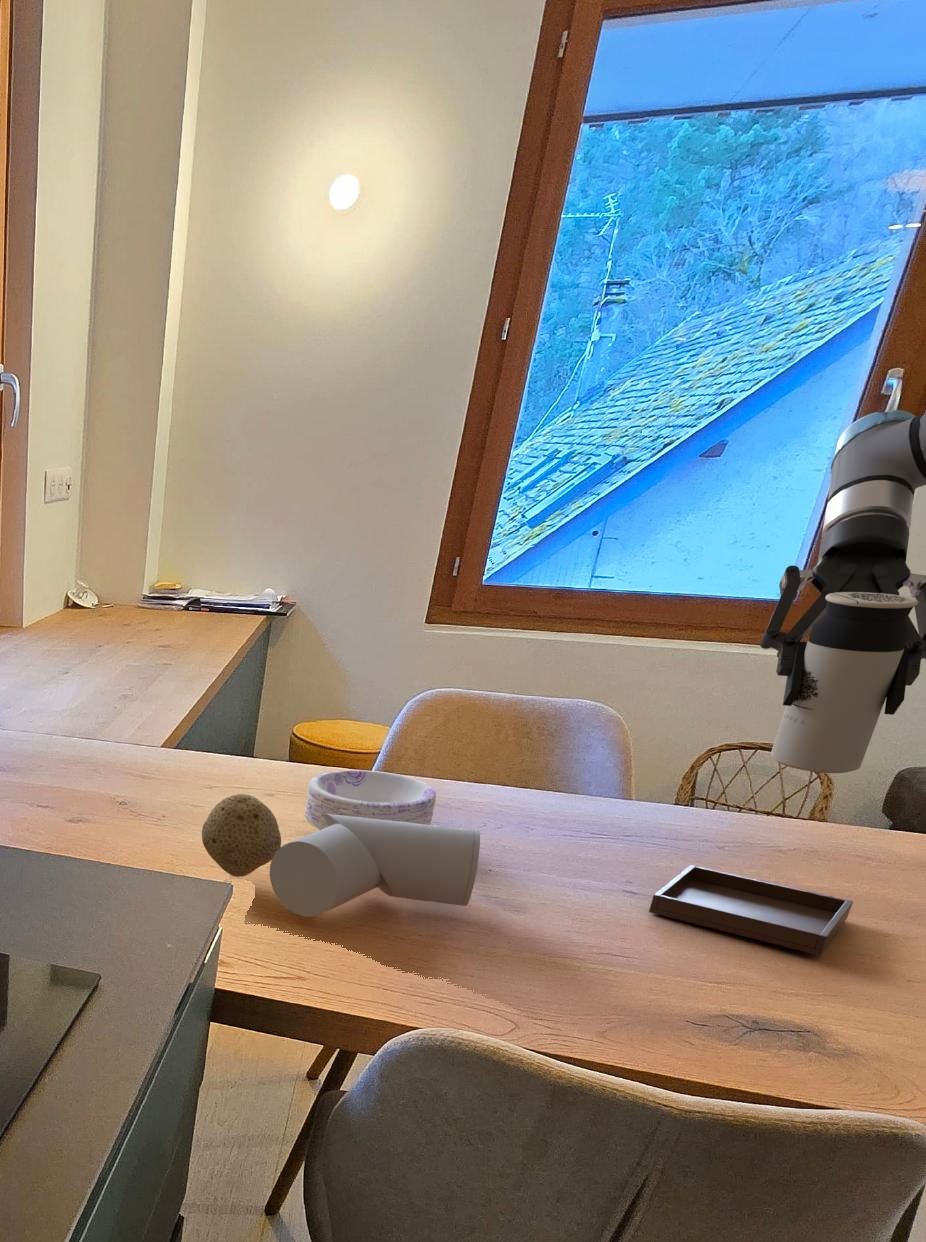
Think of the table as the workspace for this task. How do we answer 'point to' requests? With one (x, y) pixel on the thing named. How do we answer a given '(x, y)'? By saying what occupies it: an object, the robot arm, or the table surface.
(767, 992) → the table surface
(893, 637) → the travel mug
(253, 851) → the natural sponge
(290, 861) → the l-shaped cylinder
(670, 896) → the tray
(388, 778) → the paper bowls
